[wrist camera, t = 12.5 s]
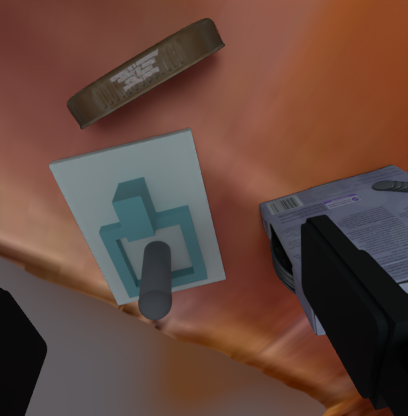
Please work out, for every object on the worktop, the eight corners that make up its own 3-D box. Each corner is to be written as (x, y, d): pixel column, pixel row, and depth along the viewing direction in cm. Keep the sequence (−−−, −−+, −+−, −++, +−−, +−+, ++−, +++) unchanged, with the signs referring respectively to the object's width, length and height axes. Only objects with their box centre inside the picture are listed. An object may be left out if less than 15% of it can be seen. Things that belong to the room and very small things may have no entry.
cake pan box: (256, 234, 42) (310, 345, 26) (249, 204, 39) (304, 306, 24) (391, 195, 41) (528, 284, 26) (393, 161, 39) (545, 238, 23)
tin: (94, 121, 32) (73, 143, 25) (75, 94, 31) (47, 108, 23) (219, 49, 30) (236, 50, 23) (205, 16, 29) (218, 6, 22)
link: (84, 191, 35) (73, 212, 30) (177, 168, 34) (179, 186, 30) (130, 290, 42) (126, 318, 38) (206, 271, 42) (211, 297, 38)
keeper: (51, 161, 34) (0, 212, 23) (190, 127, 34) (201, 163, 23) (119, 299, 44) (105, 377, 34) (224, 273, 44) (242, 343, 34)
